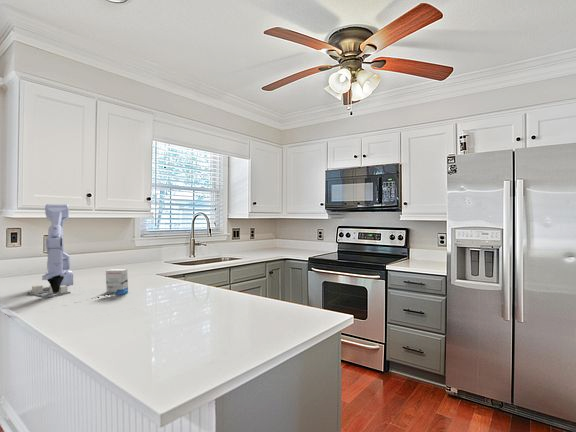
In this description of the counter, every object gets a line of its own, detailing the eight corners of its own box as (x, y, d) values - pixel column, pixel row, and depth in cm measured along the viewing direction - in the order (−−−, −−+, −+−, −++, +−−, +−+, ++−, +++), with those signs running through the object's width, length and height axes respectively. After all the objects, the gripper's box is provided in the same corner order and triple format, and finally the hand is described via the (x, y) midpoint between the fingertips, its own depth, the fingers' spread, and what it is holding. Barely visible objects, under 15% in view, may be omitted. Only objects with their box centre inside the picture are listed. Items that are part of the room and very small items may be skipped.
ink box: (128, 292, 170) (128, 268, 170) (122, 295, 165) (122, 270, 165) (112, 292, 171) (111, 268, 171) (105, 294, 166) (105, 270, 166)
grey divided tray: (50, 292, 172) (50, 288, 172) (70, 296, 164) (70, 291, 164) (27, 296, 163) (27, 292, 163) (47, 301, 155) (47, 296, 155)
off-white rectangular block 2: (63, 292, 165) (63, 285, 165) (67, 293, 164) (67, 285, 164) (57, 294, 162) (57, 286, 162) (60, 294, 161) (60, 287, 161)
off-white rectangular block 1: (39, 292, 167) (39, 284, 166) (42, 292, 165) (42, 285, 165) (32, 293, 164) (32, 286, 164) (35, 294, 162) (35, 286, 162)
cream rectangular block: (56, 291, 168) (56, 284, 168) (59, 292, 166) (59, 284, 166) (49, 292, 165) (49, 285, 165) (53, 293, 164) (53, 286, 164)
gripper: (56, 261, 168) (57, 288, 168) (35, 265, 153) (35, 296, 153) (71, 260, 168) (72, 288, 168) (51, 265, 153) (51, 296, 153)
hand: (55, 292), depth 161 cm, fingers closed
